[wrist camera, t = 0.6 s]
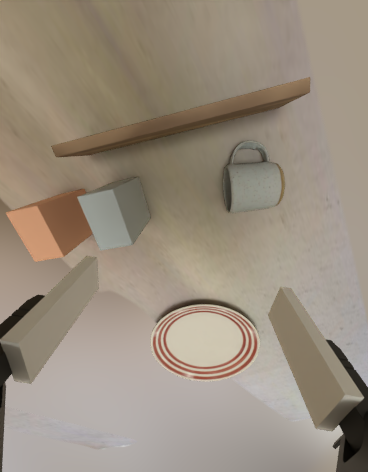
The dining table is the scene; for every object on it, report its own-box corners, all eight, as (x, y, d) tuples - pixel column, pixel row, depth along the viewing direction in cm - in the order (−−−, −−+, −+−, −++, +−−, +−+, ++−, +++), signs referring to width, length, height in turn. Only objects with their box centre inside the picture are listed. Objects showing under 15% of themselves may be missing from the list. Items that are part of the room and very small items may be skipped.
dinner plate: (192, 277, 44) (191, 286, 41) (280, 331, 49) (285, 343, 46) (134, 341, 54) (130, 353, 51) (212, 381, 59) (213, 393, 56)
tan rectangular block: (61, 194, 38) (5, 212, 27) (84, 188, 37) (36, 205, 26) (78, 231, 41) (35, 261, 30) (100, 227, 40) (63, 256, 29)
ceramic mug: (269, 201, 36) (286, 213, 29) (224, 206, 37) (230, 219, 30) (271, 137, 32) (292, 133, 25) (220, 145, 33) (227, 143, 26)
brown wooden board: (86, 146, 34) (51, 146, 26) (278, 96, 29) (310, 77, 21) (89, 155, 34) (55, 157, 26) (278, 107, 30) (309, 92, 22)
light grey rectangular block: (113, 182, 36) (77, 197, 25) (138, 176, 35) (112, 189, 25) (127, 222, 39) (100, 250, 28) (150, 217, 39) (132, 244, 28)
